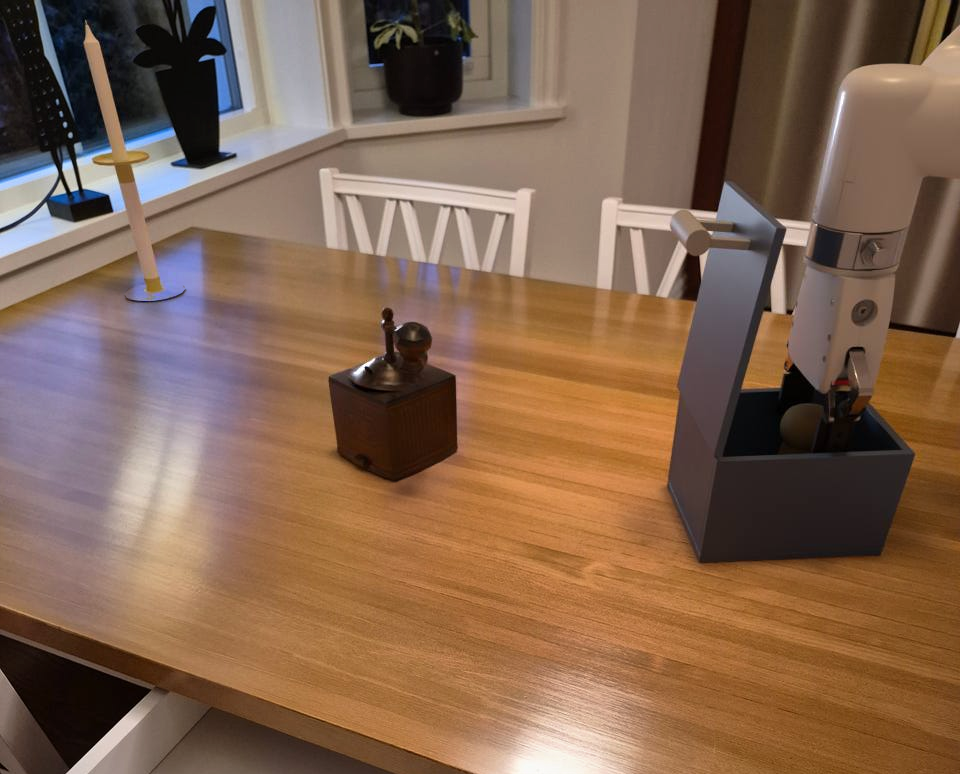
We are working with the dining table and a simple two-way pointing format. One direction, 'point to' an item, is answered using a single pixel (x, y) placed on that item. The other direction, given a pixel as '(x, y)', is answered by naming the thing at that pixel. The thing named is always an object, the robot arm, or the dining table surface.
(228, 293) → the dining table surface
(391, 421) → the manual coffee grinder
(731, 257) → the lid
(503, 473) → the dining table surface
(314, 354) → the dining table surface
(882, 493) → the chest
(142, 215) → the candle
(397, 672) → the dining table surface
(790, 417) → the brown pawn figure
